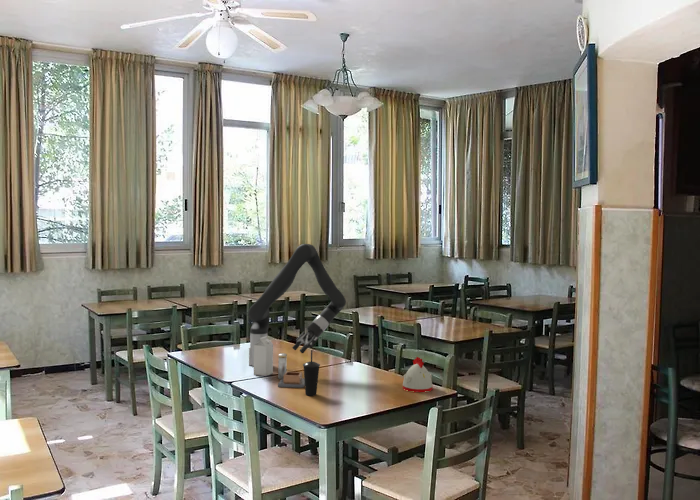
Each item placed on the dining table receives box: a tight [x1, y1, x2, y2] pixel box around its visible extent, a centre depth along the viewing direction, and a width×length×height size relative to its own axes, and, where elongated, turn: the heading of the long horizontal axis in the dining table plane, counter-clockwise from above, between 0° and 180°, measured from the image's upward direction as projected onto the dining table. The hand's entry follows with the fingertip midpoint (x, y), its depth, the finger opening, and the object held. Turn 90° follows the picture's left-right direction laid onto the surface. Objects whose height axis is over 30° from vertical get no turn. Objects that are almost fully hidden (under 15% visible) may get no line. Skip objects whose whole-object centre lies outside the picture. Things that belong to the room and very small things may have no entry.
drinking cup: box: [302, 349, 321, 397], centre depth 280 cm, size 8×8×20 cm
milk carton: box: [253, 335, 274, 377], centre depth 317 cm, size 7×7×19 cm
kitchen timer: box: [402, 356, 433, 393], centre depth 294 cm, size 14×14×15 cm
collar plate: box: [277, 371, 305, 389], centre depth 298 cm, size 12×12×5 cm
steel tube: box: [277, 352, 288, 380], centre depth 309 cm, size 4×4×12 cm
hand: (297, 350), depth 313 cm, fingers open, 8 cm apart
